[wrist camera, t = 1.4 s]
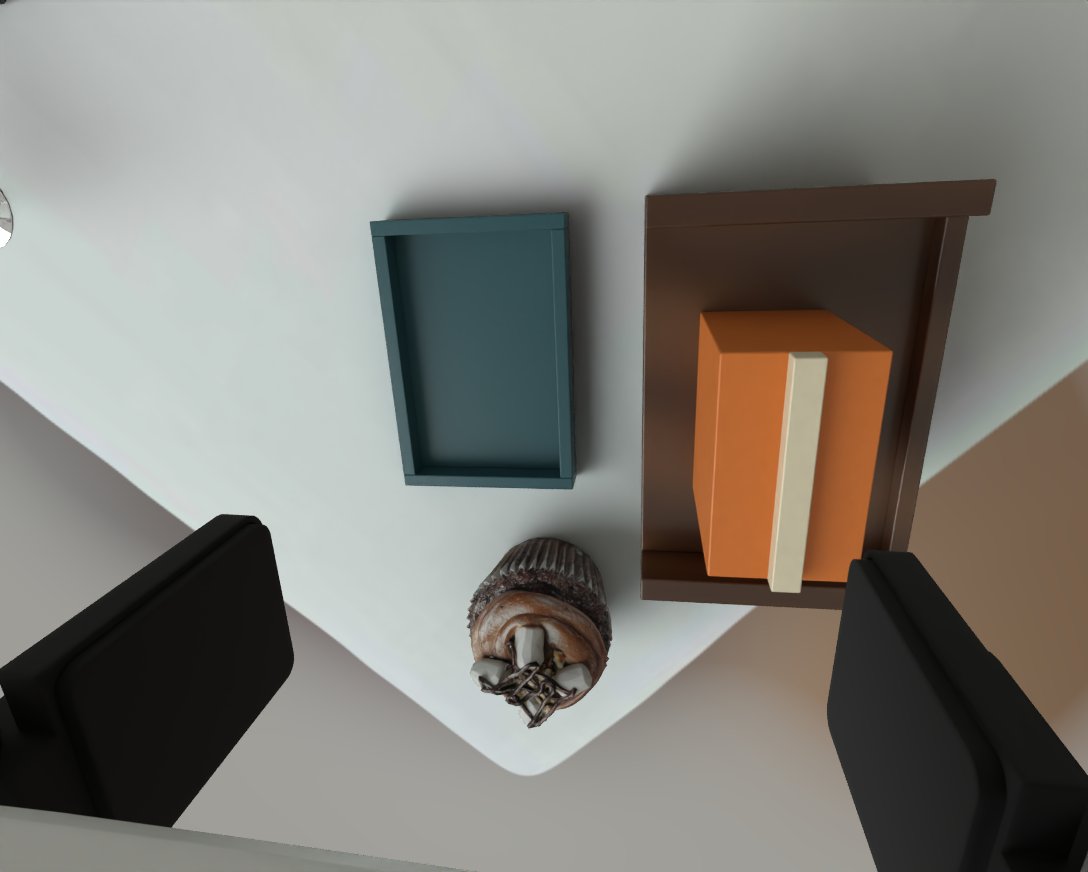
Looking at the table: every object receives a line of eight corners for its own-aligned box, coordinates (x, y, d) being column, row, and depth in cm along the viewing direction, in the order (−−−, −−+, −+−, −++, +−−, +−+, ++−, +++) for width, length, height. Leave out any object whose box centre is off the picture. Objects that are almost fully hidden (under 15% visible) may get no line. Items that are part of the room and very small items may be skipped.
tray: (383, 220, 38) (369, 221, 36) (568, 212, 36) (564, 213, 34) (415, 472, 43) (405, 485, 41) (576, 476, 42) (573, 489, 40)
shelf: (644, 195, 35) (645, 195, 23) (874, 184, 33) (998, 178, 22) (641, 487, 41) (640, 600, 30) (834, 491, 39) (912, 614, 28)
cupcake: (642, 572, 44) (642, 674, 34) (570, 661, 47) (553, 775, 38) (525, 502, 43) (492, 586, 34) (461, 597, 47) (416, 697, 37)
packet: (700, 311, 27) (722, 358, 19) (827, 309, 26) (904, 356, 18) (692, 487, 30) (709, 589, 22) (806, 490, 29) (865, 597, 21)
